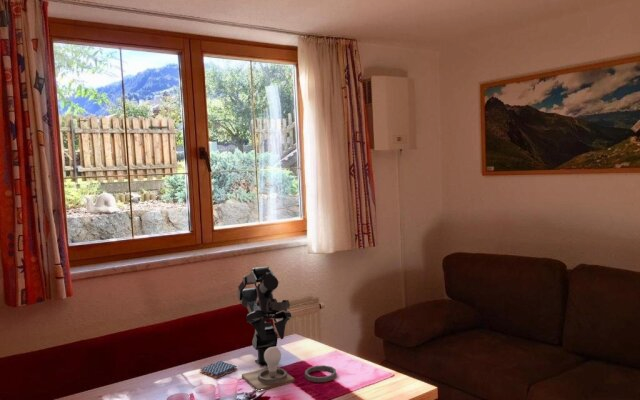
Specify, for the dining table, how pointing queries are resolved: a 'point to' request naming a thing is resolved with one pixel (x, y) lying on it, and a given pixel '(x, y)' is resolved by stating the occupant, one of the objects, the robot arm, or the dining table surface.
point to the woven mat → (218, 369)
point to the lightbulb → (272, 360)
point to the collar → (320, 379)
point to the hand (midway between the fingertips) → (273, 339)
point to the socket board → (267, 378)
